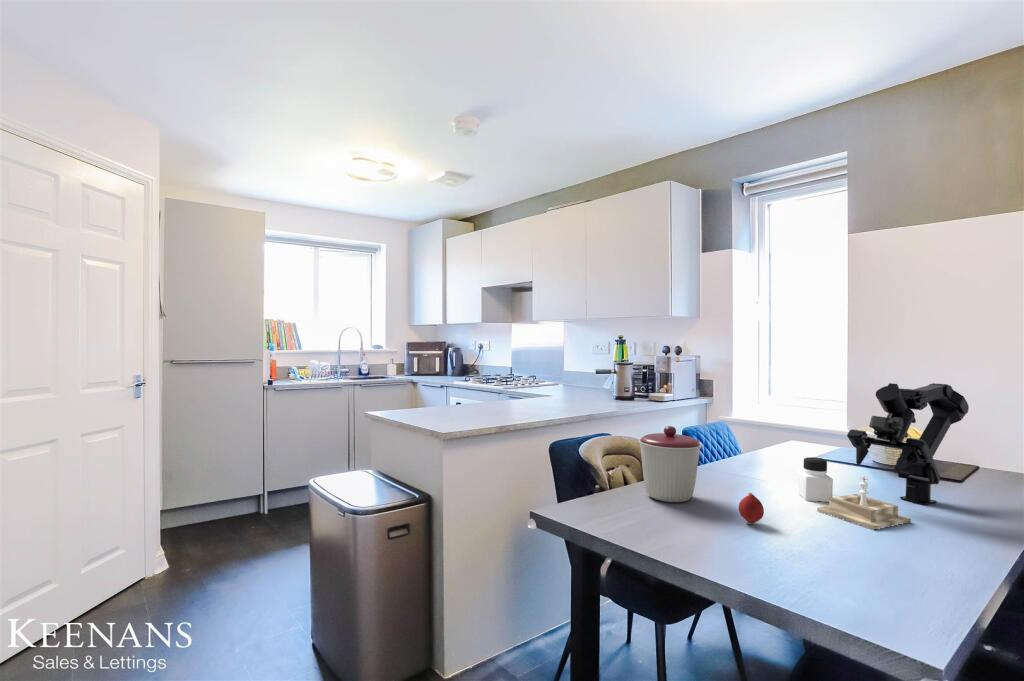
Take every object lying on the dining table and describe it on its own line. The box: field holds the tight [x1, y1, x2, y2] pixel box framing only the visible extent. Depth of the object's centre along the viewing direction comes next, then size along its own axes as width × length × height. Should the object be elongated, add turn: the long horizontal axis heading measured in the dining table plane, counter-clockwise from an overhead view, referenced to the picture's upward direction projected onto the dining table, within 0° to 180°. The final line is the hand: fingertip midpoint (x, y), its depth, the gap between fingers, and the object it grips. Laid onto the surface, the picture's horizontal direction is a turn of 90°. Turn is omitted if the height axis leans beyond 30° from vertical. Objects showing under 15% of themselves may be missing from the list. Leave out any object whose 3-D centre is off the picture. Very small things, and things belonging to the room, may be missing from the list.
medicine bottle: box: [797, 456, 834, 503], centre depth 154 cm, size 7×7×12 cm
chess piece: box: [858, 474, 869, 507], centre depth 138 cm, size 5×5×10 cm
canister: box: [638, 425, 703, 503], centre depth 152 cm, size 18×18×21 cm
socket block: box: [816, 493, 912, 530], centre depth 138 cm, size 15×15×4 cm
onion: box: [738, 491, 765, 525], centre depth 131 cm, size 6×6×8 cm
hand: (875, 467), depth 141 cm, fingers open, 9 cm apart
